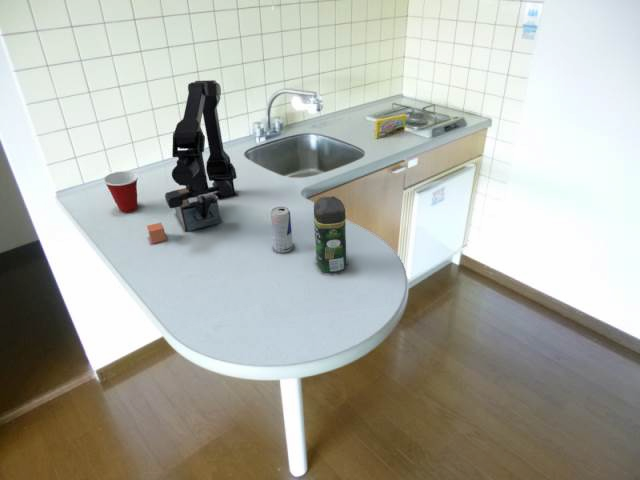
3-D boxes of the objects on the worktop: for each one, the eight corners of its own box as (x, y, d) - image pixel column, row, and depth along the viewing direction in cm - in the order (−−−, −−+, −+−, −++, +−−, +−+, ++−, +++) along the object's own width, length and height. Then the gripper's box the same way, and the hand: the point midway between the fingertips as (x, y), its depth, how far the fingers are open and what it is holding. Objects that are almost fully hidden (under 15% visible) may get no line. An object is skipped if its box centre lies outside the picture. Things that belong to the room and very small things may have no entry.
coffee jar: (314, 255, 129) (311, 195, 120) (342, 252, 130) (341, 192, 120) (318, 275, 121) (315, 212, 111) (348, 272, 122) (348, 209, 112)
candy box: (376, 139, 209) (377, 121, 205) (374, 138, 211) (374, 120, 207) (405, 132, 216) (406, 114, 212) (402, 131, 218) (403, 113, 213)
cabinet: (221, 222, 148) (217, 198, 144) (185, 231, 144) (180, 207, 139) (210, 206, 158) (205, 183, 154) (176, 214, 154) (171, 191, 150)
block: (163, 234, 143) (161, 222, 141) (166, 240, 140) (163, 228, 138) (149, 237, 141) (146, 225, 139) (152, 244, 138) (149, 231, 136)
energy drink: (295, 244, 135) (292, 207, 128) (288, 254, 130) (285, 216, 124) (278, 242, 136) (275, 205, 130) (271, 251, 132) (267, 214, 126)
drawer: (224, 229, 142) (221, 209, 139) (191, 237, 139) (187, 218, 135) (210, 207, 156) (206, 189, 152) (179, 214, 152) (175, 196, 148)
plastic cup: (135, 217, 153) (126, 184, 147) (106, 215, 155) (95, 182, 149) (152, 202, 162) (144, 170, 156) (124, 201, 164) (115, 169, 158)
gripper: (218, 156, 142) (226, 201, 150) (156, 168, 135) (167, 215, 143) (229, 167, 134) (236, 215, 142) (163, 181, 127) (175, 231, 135)
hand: (204, 219), depth 141 cm, fingers closed
